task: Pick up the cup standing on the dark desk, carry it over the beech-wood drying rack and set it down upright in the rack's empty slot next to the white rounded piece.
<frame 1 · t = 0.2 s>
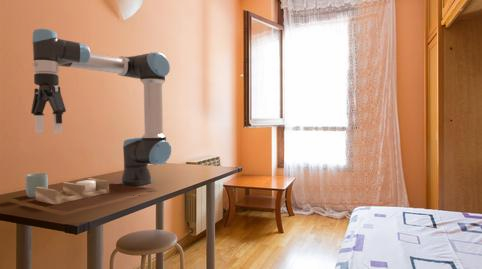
hand: (48, 133, 115), 28 cm above the table, fingers open, 13 cm apart
cup: (37, 198, 134), on the table
white rounded piece: (86, 193, 136), point 1 cm above the table, touching rack
rack: (74, 198, 131), on the table
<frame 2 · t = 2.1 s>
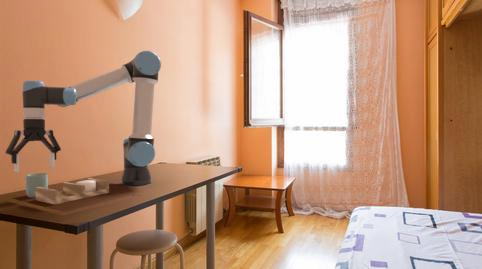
hand: (35, 169, 133), 12 cm above the table, fingers open, 13 cm apart
nothing on the table moved.
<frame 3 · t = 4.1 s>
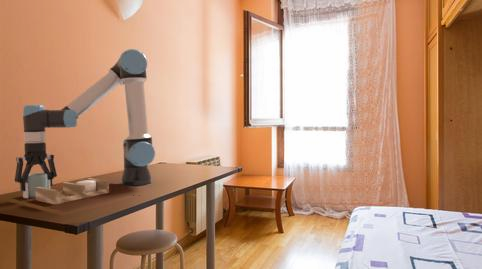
hand: (37, 196, 133), 1 cm above the table, fingers closed on cup, 8 cm apart
cup: (37, 198, 134), on the table, touching gripper
everything else where it was.
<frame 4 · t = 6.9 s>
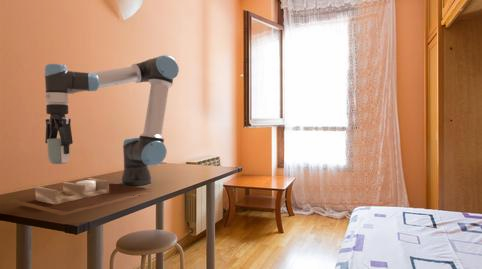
hand: (59, 161, 126), 16 cm above the table, fingers closed on cup, 8 cm apart
cup: (59, 164, 126), point 15 cm above the table, touching gripper
everything else where it was.
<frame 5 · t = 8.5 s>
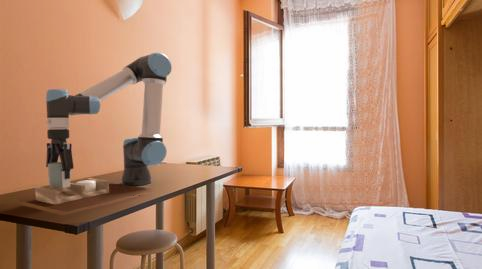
hand: (60, 186, 127), 6 cm above the table, fingers closed on cup, 8 cm apart
cup: (60, 188, 127), point 5 cm above the table, touching gripper
everything else where it was.
when the fingers open (5 cm above the table, at t = 9.7 s): cup drops 3 cm, resting on rack.
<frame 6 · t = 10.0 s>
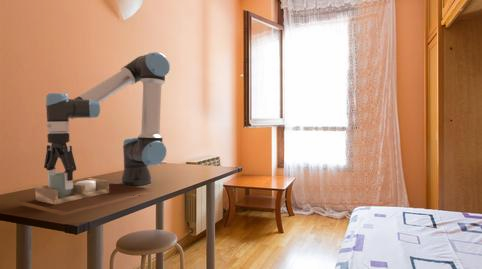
hand: (60, 187, 127), 6 cm above the table, fingers open, 11 cm apart
cup: (61, 199, 127), point 1 cm above the table, touching rack
everything else where it was.
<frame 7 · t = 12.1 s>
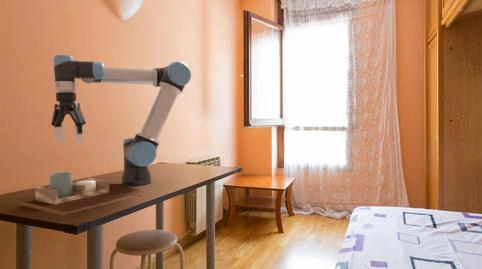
hand: (69, 141, 138), 23 cm above the table, fingers open, 13 cm apart
nothing on the table moved.
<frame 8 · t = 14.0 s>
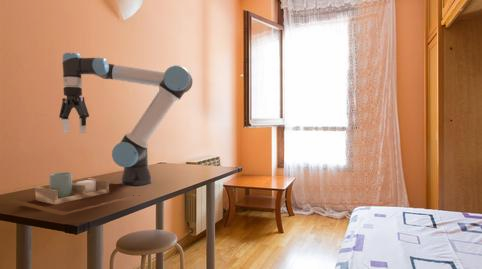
hand: (74, 133, 149), 27 cm above the table, fingers open, 13 cm apart
nothing on the table moved.
at the end: cup inside the target area on the rack (0.4 cm from its centre), point 1.0 cm above the rack's base; cup tilted 0°; the gripper is holding nothing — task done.
